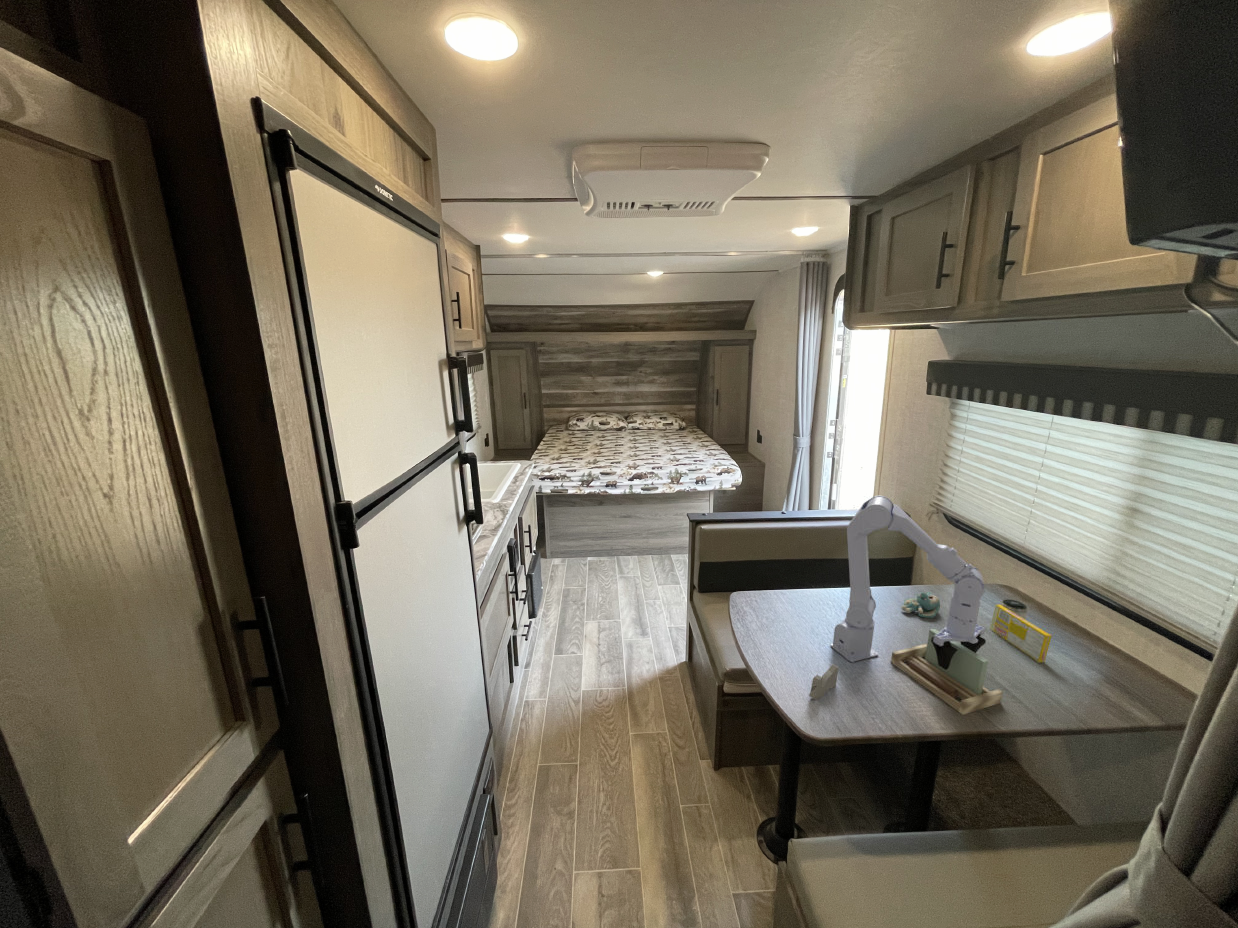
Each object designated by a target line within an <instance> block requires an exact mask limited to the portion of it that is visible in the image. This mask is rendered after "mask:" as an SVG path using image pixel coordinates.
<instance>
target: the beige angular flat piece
mask: <svg viewBox="0 0 1238 928" xmlns="http://www.w3.org/2000/svg"><path fill="white" fill-rule="evenodd" d="M838 675H839V666H838V665H836V664H834V663H832V664H831V665H830V666H829V668H828V669H827V670H826V671H825V673H823V675H822V676H820V675H818V674H816V675H814V677H813V678H812V680H811V681H812V682H811V687H810V688H811V689H810V692H809V694H808V696H809V698H811V699H813V700H814V701H815V700H818V699H821V698H822V697H823V696H824V695H825V694H826V693H827V692H828V691H829V690H830V689H831V688H835V687H837V681H838Z"/></svg>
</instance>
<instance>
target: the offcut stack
mask: <svg viewBox="0 0 1238 928" xmlns="http://www.w3.org/2000/svg"><path fill="white" fill-rule="evenodd" d="M908 666H909V667H910V668H912V669H913V670H914V671H916V672H917V673H919V674H920V675H921V676H923V677H924V678H926V679H927V680H929V681H930V682H931V683H933V684H934V685H936V686H937V687H938V688H940V689H941V690H943V691H944V692H945V693H947V694H948V695H950V696H951V697H952V698H954V699H956V698H957V697H958V696H957V691H958V690H957V689H955V688H954V687H952V686H951V685H949V684H948V683H946V682H945V681H944V680H942V679H941V678H939V677H938V676H936V675H935V674H933V673H932V672H930V671H929V670H928V669H926V668H925V667H923V666H922V665H919V664H918V663H916V662H915V661H914V662H913V661H912V660H911V661H909V662H908Z"/></svg>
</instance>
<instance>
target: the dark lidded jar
mask: <svg viewBox="0 0 1238 928" xmlns="http://www.w3.org/2000/svg"><path fill="white" fill-rule="evenodd" d="M1000 605H1002V606H1004V607H1005V608H1007V609H1008V610H1010V611H1012V612H1013V613H1015V614H1017V615H1018V616H1020V617H1022V618H1023V619H1025V620H1027V614H1028V611H1029V609H1028V607H1027V605H1025V604H1024V603H1023V602H1021V601H1018V600H1015V599H1008V598H1007V599H1003V600H1002V601H1000Z"/></svg>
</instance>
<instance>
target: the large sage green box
mask: <svg viewBox="0 0 1238 928" xmlns="http://www.w3.org/2000/svg"><path fill="white" fill-rule="evenodd" d="M939 632H940V631H939V630H937V629H936V628H930V629H929V632H928V637H927V643H926V644H927V649H926V655H925V657H924V660H926V661H927V662H929V663H930V664H932V665H933V666H935V667H936V668H938V669H939V670H941V671H942V672H944V673H945V674H947V675H948V676H950V677H951V678H953V679H954V680H956V681H957V682H959V683H960V684H962V685H963V686H965V687H966V688H968V689H969V690H971V691H972V692H974V693H975V694H977V695H981V694H982V689H983V687H984V683H985V678H986V673H987V669H988V664H989V660H988V659H986V658H984V657H983V656H981V655H980V654H978V653H977V652H976V653H974V652H973V651H971V650H969V649H968V648H966V647H964V646H963V645H961V643H960V642H959V641H951V642H950V644H952V645H951V646H952V647H954V648H956V649H957V651H956V652H955V654H954V655H953V657H952V659H951V662H950V665H949V668H948V669H947V670H945V669H943V668H942V667H940V666H939V665H938V660H937V654H936V651H935V648H934V646H933V644H932V642H931V638H932V637H934V635H936V634H938V633H939Z"/></svg>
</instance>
